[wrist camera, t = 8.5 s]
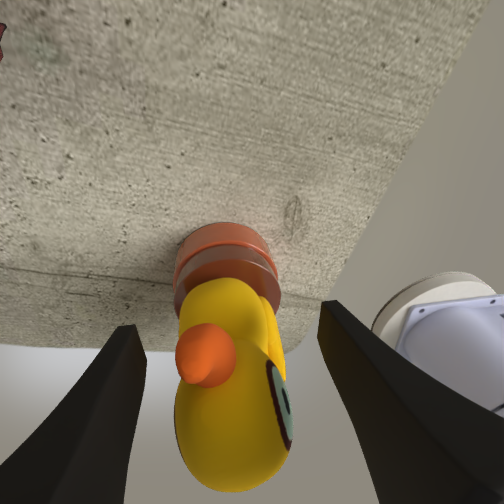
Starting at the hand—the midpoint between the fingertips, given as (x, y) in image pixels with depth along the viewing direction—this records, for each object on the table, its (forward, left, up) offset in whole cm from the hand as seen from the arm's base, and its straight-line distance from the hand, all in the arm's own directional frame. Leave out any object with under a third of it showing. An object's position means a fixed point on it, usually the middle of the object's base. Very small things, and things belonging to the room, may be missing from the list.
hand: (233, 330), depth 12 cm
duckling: (0, +4, -6) cm, 7 cm away
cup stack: (0, +4, -10) cm, 11 cm away
